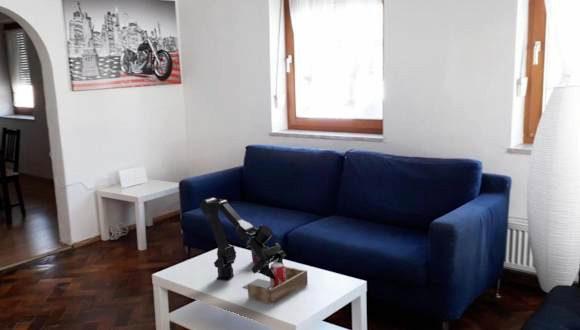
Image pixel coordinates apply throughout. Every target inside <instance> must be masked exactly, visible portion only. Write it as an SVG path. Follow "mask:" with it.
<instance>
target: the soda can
mask: <svg viewBox="0 0 580 330" xmlns="http://www.w3.org/2000/svg"><path fill="white" fill-rule="evenodd" d="M284 266H285V265H284V263H273V262H272V263H270V266H269V268H270V270H271V271H272V273H273V274H274V276H275V278H276V280H273V279H271V278H269V281H270V285H271V287H270V289H272V288H274V287H276V286H278V285H280V284H281V283H283V282H285V281H287V280H286V271H285V267H284Z"/></svg>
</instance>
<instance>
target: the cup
mask: <svg viewBox="0 0 580 330" xmlns="http://www.w3.org/2000/svg"><path fill="white" fill-rule="evenodd" d="M254 237H255V236H254ZM254 237H252V238H254ZM250 239H251V238H249V240H250ZM250 251H251V258H252V259H251V260H252V263H254V264H256V263H257V262H258V261H260V260H259V258H258V257H257V258H255V255H256V254H255V253H254V252H253V250H252V249H251V248H250Z"/></svg>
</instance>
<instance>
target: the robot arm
mask: <svg viewBox="0 0 580 330" xmlns="http://www.w3.org/2000/svg"><path fill="white" fill-rule="evenodd" d="M199 208H200V209H201V212H202V215H204V216H205V217H206V218H207V219H208V221H209V224H210V227H211V231H212V234H213V236H214V239H215V242H216V245H217V251H216V256H217V259H215V261H214V262H213V265H214V267H215V268H216V269H217V277H216V279H217V280H223V281H229V280H230V279H232V277H234V276H235V274H234V267H233V264H235V261H236V258H237V252H236V249H235V246H234V245H230V243H229V242H228V239H227V237H226V233H225V231H224V227H223V225H222V222H221V219H220V216H219V213H220V212H221V213H222V214H223V216H224V217H225V218H226V219H227V220H228V221H229V223H231V225H232V226H233V227H234V228H235V232H236V234H237V236H238V237H239V239H240V240H242V241H246V242H245V248H246V249H247V248H250V250H251V249H252V250H253V252H254V253H255V254H256V255H255V258H257V257H258V258H259V260H260V261H258V262H257V263H254V264H253V266H252V267H251V271H252V272H253V274H257V273H258V274H261V275H263V276H265V277H268V278H269V279H270V278H271V279H273V280H276V278H275V276H274V274H273V273H272V271H271V270H270V264H273V263H283V260H284V258H285V256H286V255H287V254H286V252H285V251H284V250H281V249H282V247H281V245H280V243H278V242H276V243H273V244H272V247H269V246H268V245H267V246H266V245H265V244H266V243H267V242H268V241H269V239H271V237H272V236H273V235H274V231H273V230H272V228H271V227H269V226H266V225H265V224H260V226H259V227H258V228H256V227H254V225H253V224H251V223H250V222H249V221H245V220H244V219H243V218H242V217H241V216H240V215H239V214H238V213H237V212H236V210H235V209H234V208H233V207H232V206H231V205H230V204H229V202H228V200H227V199H222V198H215V197H210V198H209V197H208V198H207V199H206V198H205V199H203V200H202V201H200V204H199ZM254 236H255V237H254ZM252 237H254V238H252ZM250 238H251V239H250ZM283 264H284V263H283Z"/></svg>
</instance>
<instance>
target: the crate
mask: <svg viewBox="0 0 580 330" xmlns="http://www.w3.org/2000/svg"><path fill="white" fill-rule="evenodd" d="M284 267H285V271H286V281H285V282H283V283H281V284H280V285H278V286H276V287H274V288H272V289H271V288H264V287H260V286H256V285H252V284H249V283H247V284H248V289H247V297H248V299H252V300H255V301H258V302H262V303H266V304H269V305H273V304H275V303H277V302H279V301H280V300H282V299H284V298H285V297H287V296H289V295H290V294H292V293H293V292H296V291H297V290H298V289H300V288H302V287H304V286H306V285H307V284H308V282H309V281H308V271H307V270H305V269H300V268H297V267H291V266H286V265H284Z"/></svg>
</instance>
